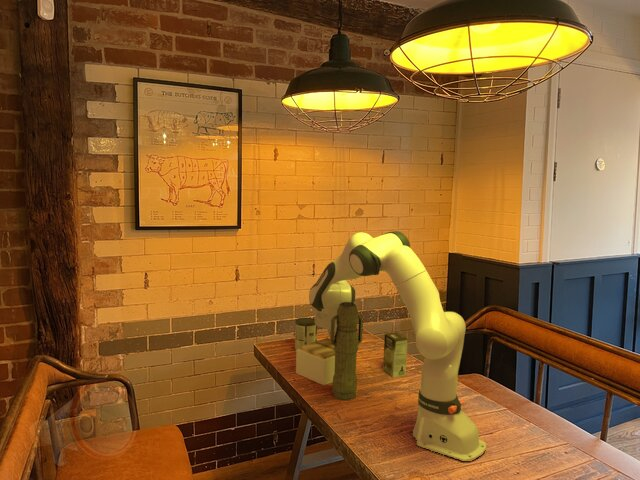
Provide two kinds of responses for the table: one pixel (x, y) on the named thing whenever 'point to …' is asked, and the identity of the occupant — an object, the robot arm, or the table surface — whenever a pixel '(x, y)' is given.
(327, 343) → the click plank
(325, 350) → the laid board
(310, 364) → the display stand
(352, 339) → the thermos
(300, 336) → the coffee can
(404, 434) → the table surface
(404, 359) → the coffee box
